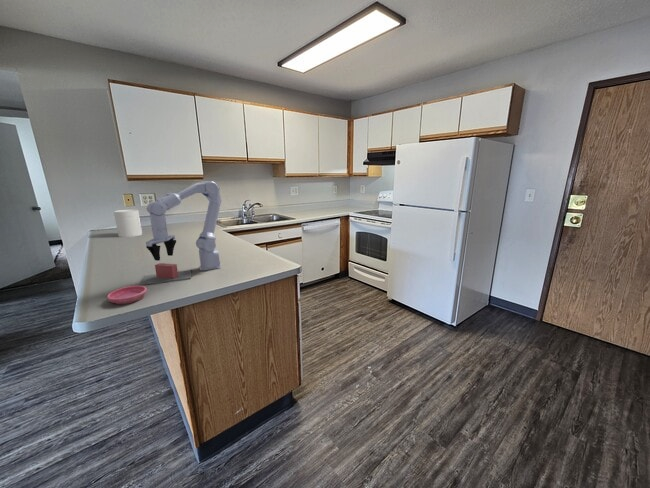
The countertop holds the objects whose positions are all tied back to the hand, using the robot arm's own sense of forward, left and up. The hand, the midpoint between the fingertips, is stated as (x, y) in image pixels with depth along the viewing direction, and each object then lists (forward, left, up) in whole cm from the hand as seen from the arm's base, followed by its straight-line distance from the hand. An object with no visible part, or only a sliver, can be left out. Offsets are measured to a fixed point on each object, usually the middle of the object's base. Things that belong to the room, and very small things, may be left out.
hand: (164, 257), depth 121 cm
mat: (0, 0, -10) cm, 10 cm away
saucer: (+11, +19, -10) cm, 24 cm away
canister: (+38, -122, -10) cm, 128 cm away
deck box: (0, 0, -9) cm, 9 cm away
